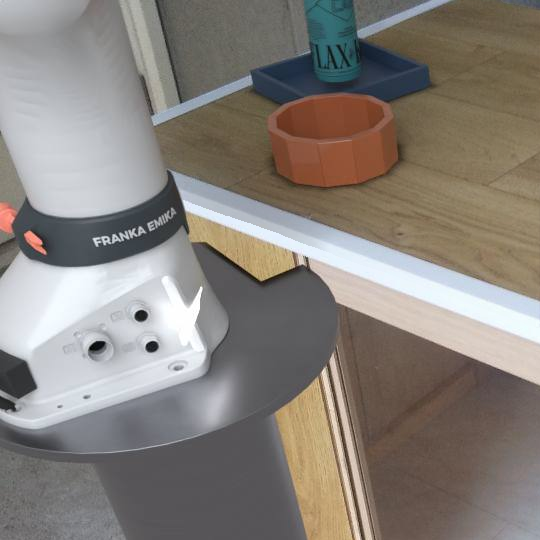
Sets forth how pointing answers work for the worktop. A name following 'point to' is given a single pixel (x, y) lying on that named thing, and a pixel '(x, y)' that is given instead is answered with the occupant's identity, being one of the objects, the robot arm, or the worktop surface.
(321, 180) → the bowl
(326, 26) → the beverage bottle
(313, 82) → the tray
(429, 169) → the worktop surface
